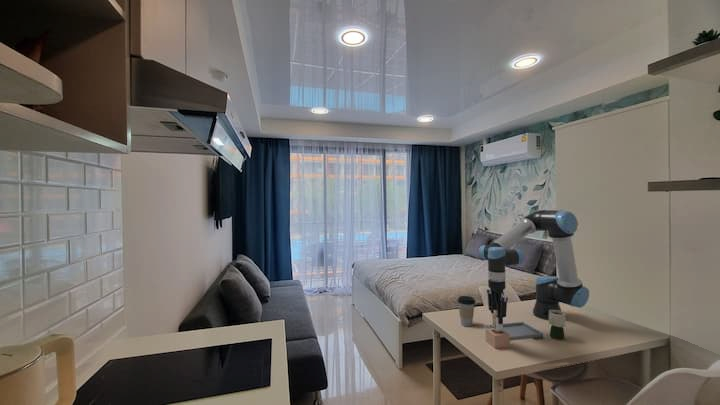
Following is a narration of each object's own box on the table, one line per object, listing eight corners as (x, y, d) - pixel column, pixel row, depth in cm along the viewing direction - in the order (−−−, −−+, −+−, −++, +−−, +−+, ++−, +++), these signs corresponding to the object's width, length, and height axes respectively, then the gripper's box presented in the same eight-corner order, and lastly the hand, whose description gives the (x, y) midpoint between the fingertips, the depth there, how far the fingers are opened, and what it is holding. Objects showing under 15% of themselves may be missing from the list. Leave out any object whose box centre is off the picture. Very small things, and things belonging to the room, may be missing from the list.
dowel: (498, 341, 150) (498, 309, 149) (502, 344, 147) (501, 311, 147) (492, 342, 149) (492, 309, 149) (496, 345, 146) (496, 312, 146)
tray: (522, 325, 170) (522, 321, 170) (543, 338, 155) (543, 333, 155) (486, 329, 166) (486, 325, 166) (503, 342, 151) (503, 337, 151)
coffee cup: (464, 320, 179) (464, 294, 179) (479, 325, 172) (478, 298, 171) (454, 324, 174) (453, 297, 174) (468, 329, 166) (468, 302, 166)
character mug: (558, 333, 160) (558, 308, 160) (571, 338, 154) (571, 313, 153) (542, 336, 157) (542, 311, 156) (555, 342, 150) (555, 316, 150)
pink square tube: (499, 341, 152) (499, 327, 152) (509, 348, 145) (509, 334, 145) (485, 343, 151) (485, 328, 151) (494, 350, 144) (494, 335, 144)
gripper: (480, 276, 155) (480, 322, 155) (499, 284, 139) (500, 336, 139) (494, 275, 156) (494, 321, 156) (514, 283, 140) (515, 335, 141)
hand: (497, 328), depth 148 cm, fingers closed on dowel, 3 cm apart
